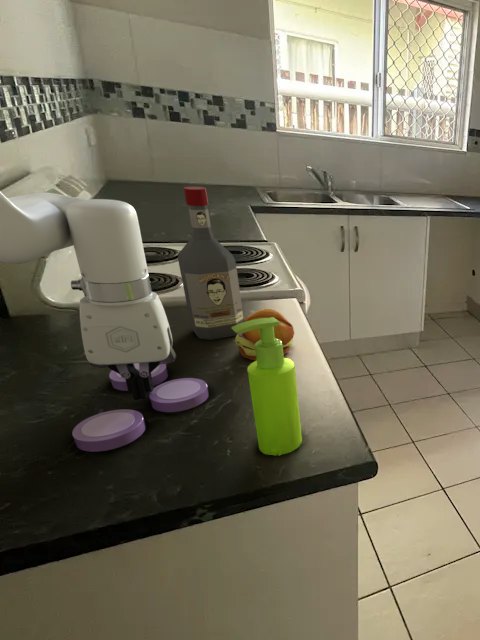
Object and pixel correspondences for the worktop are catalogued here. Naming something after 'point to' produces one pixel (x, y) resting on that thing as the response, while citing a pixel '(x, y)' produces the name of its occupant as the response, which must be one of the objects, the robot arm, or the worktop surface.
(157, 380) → the dish
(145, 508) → the worktop surface
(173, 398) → the middle dish
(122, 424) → the dish
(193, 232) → the liquor
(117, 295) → the robot arm
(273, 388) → the soap dispenser
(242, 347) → the cheeseburger
